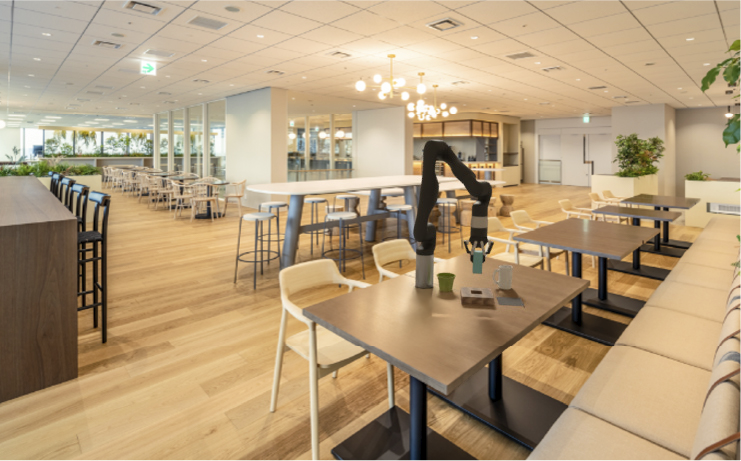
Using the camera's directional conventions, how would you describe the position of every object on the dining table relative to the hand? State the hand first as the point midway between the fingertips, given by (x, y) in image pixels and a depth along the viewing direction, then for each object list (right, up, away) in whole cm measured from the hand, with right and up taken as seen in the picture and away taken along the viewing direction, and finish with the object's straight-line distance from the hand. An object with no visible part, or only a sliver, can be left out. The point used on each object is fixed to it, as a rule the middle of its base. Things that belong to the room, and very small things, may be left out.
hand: (477, 262), depth 183 cm
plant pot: (-11, -16, +18) cm, 26 cm away
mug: (+18, -16, +20) cm, 31 cm away
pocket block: (0, -18, +3) cm, 19 cm away
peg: (0, -5, +1) cm, 5 cm away
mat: (+15, -19, +1) cm, 24 cm away
